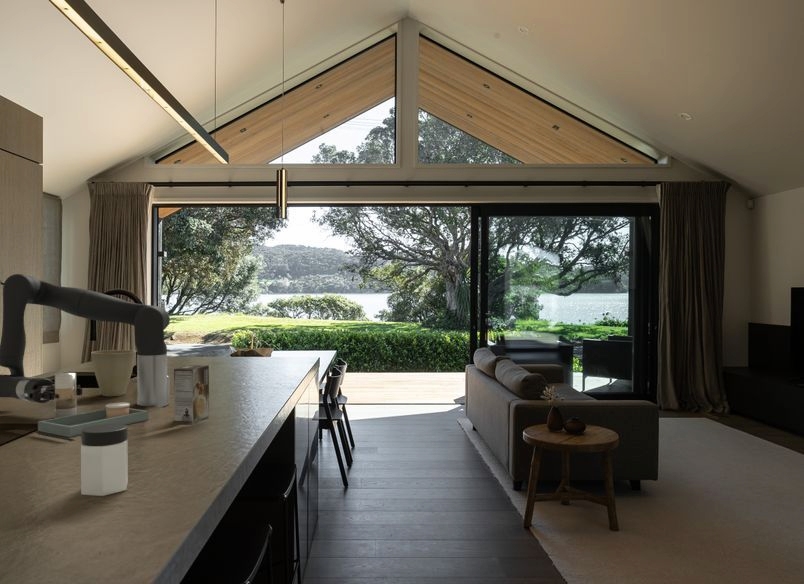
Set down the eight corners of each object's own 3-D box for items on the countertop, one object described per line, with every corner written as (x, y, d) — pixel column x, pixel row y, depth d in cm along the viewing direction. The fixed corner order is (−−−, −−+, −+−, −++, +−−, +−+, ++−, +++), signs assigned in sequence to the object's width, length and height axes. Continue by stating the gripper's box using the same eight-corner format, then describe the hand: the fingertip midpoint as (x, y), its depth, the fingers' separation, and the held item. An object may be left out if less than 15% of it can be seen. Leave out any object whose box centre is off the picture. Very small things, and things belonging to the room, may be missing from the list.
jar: (118, 479, 127) (117, 421, 127) (137, 487, 122) (137, 426, 122) (72, 490, 121) (71, 428, 121) (90, 499, 115) (90, 435, 115)
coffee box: (190, 417, 189) (190, 364, 188) (209, 418, 187) (209, 365, 187) (173, 424, 180) (173, 368, 179) (193, 425, 178) (193, 369, 178)
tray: (117, 418, 188) (117, 406, 188) (148, 423, 181) (148, 411, 181) (38, 434, 167) (37, 421, 167) (69, 440, 160) (69, 427, 160)
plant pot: (124, 398, 222) (124, 353, 221) (83, 398, 222) (83, 353, 222) (142, 391, 236) (142, 349, 236) (103, 391, 237) (103, 349, 237)
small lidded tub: (120, 417, 184) (120, 401, 184) (134, 419, 181) (134, 403, 181) (100, 421, 179) (100, 405, 179) (115, 423, 176) (115, 407, 176)
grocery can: (69, 418, 188) (68, 371, 188) (80, 420, 185) (80, 373, 185) (50, 421, 183) (50, 374, 183) (62, 423, 180) (62, 375, 180)
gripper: (11, 380, 185) (43, 384, 177) (58, 374, 198) (89, 378, 190) (11, 405, 185) (43, 410, 177) (58, 398, 198) (89, 402, 190)
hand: (67, 394), depth 184 cm, fingers open, 8 cm apart
